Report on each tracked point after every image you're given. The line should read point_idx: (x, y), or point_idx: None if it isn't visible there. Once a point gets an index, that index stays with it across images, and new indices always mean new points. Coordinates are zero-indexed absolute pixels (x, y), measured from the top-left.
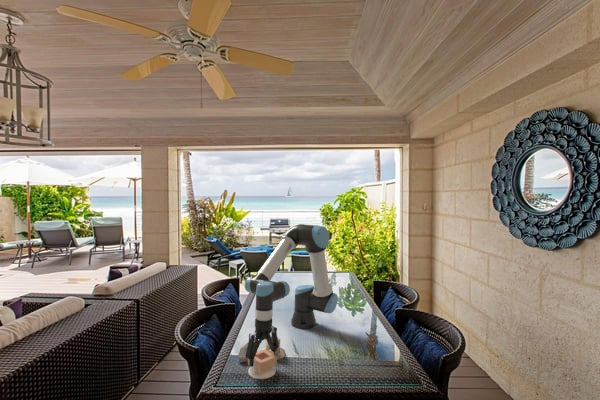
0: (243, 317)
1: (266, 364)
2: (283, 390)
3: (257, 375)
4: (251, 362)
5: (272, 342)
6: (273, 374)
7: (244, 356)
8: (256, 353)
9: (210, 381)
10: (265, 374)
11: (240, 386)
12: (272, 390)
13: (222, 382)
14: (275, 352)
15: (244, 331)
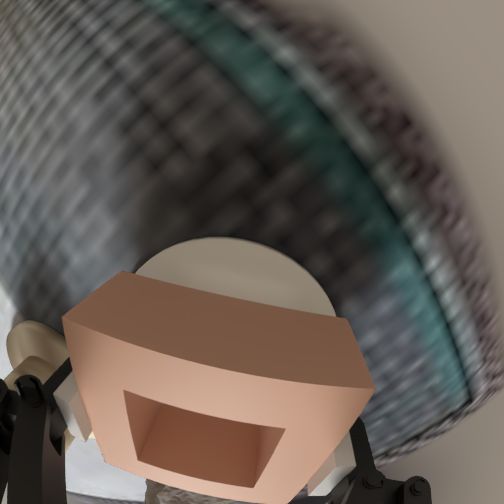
0: (72, 494)
1: (257, 339)
2: (322, 30)
3: None
4: (367, 447)
5: (11, 492)
6: (200, 239)
7: None
8: (210, 488)
9: (446, 431)
10: (255, 293)
11: (453, 326)
12: (384, 99)
13: (443, 405)
14: (44, 376)
15: (96, 490)
